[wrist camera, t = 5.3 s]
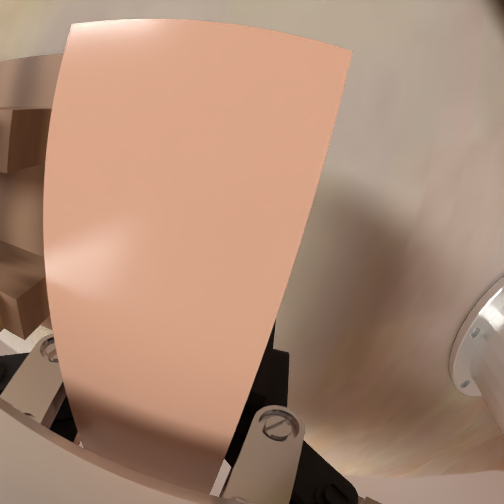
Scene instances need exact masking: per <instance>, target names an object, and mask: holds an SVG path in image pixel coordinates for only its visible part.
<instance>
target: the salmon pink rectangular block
mask: <svg viewBox="0 0 504 504" xmlns="http://www.w3.org/2000/svg"><path fill="white" fill-rule="evenodd" d="M352 52H353V51H350V50H347V49H344V48H340V47H337V46H334V45H330V44H327V43H323V42H320V41H316V40H312V39H308V38H304V37H300V36H296V35H291V34H287V33H282V32H277V31H272V30H267V29H261V28H255V27H249V26H243V25H235V24H228V23H219V22H209V21H196V20H179V19H126V20H109V21H97V22H87V23H79V24H72V27H71V30H70V33H69V37H68V40H67V44H66V47H65V51H64V55H63V59H62V63H61V67H60V71H59V75H58V80H57V85H56V89H55V95H54V100H53V106H52V112H51V118H50V125H49V132H48V141H47V150H46V161H45V175H44V196H43V238H44V259H45V273H46V284H47V294H48V302H49V310H50V317H51V323H52V330H53V335H54V341H55V346H56V351H57V356H58V361H59V366H60V370H61V374H62V378H63V382H64V386H65V390H66V394H67V398H68V401H69V405H70V408H71V411H72V415H73V418H74V421H75V424H76V427H77V430H78V433H79V436H80V439H81V442H82V444H83V447H84V449H86V450H88V451H90V452H92V453H94V454H97V455H99V456H101V457H103V458H105V459H107V460H110V461H112V462H114V463H117V464H119V465H121V466H124V467H126V468H129V469H131V470H134V471H136V472H139V473H141V474H144V475H147V476H150V477H152V478H155V479H158V480H161V481H164V482H167V483H170V484H173V485H176V486H180V487H183V488H186V489H190V490H193V491H197V492H201V493H204V494H208V495H209V494H210V492H211V489H212V487H213V484H214V482H215V480H216V477H217V475H218V472H219V470H220V467H221V465H222V462H223V460H224V457H225V455H226V452H227V450H228V447H229V445H230V442H231V440H232V437H233V435H234V432H235V430H236V427H237V424H238V422H239V419H240V417H241V414H242V411H243V409H244V406H245V403H246V401H247V398H248V395H249V393H250V390H251V387H252V384H253V382H254V379H255V376H256V373H257V371H258V368H259V365H260V362H261V360H262V357H263V354H264V351H265V348H266V345H267V343H268V340H269V337H270V334H271V331H272V328H273V325H274V322H275V319H276V316H277V313H278V310H279V307H280V304H281V301H282V298H283V295H284V292H285V289H286V286H287V283H288V280H289V277H290V274H291V271H292V268H293V265H294V262H295V258H296V255H297V252H298V249H299V246H300V242H301V239H302V236H303V233H304V229H305V226H306V223H307V220H308V216H309V213H310V210H311V206H312V203H313V199H314V196H315V193H316V189H317V186H318V182H319V179H320V175H321V172H322V168H323V165H324V161H325V158H326V154H327V150H328V147H329V143H330V139H331V136H332V132H333V128H334V124H335V121H336V117H337V113H338V109H339V105H340V101H341V97H342V93H343V89H344V85H345V81H346V77H347V73H348V69H349V65H350V61H351V56H352Z"/></svg>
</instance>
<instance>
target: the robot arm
mask: <svg viewBox="0 0 504 504" xmlns="http://www.w3.org/2000/svg"><path fill="white" fill-rule="evenodd" d="M275 322H276V319H275ZM275 322H274V325H273V328H272V331H271V334H270V337H269V340H268V343H267V345H266V348H265V351H264V354H263V357H262V360H261V362H260V365H259V368H258V371H257V373H256V376H255V379H254V382H253V384H252V387H251V390H250V393H249V395H248V398H247V401H246V403H245V406H244V409H243V411H242V414H241V417H240V419H239V422H238V424H237V427H236V430H235V432H234V435H233V437H232V440H231V442H230V445H229V447H228V450H227V452H226V455H225V457H224V459H225V460H226V461H227V462H228V463H229V465H230V466H231V469H230V471H229V474H228V476H227V479H226V481H225V483H224V486H223V488H222V491H221V493H220V495H219V497H217V496H212V495H208V494H204V493H201V492H197V491H193V490H190V489H186V488H183V487H180V486H176V485H173V484H170V483H167V482H164V481H161V480H158V479H155V478H152V477H150V476H147V475H144V474H141V473H139V472H136V471H134V470H131V469H129V468H126V467H124V466H121V465H119V464H117V463H114V462H112V461H110V460H107V459H105V458H103V457H101V456H99V455H97V454H94V453H92V452H90V451H88V450H86V449H84V448H82V447H80V446H79V444H80V441H81V439H80V436H79V433H78V430H77V427H76V424H75V421H74V418H73V415H72V411H71V408H70V405H69V401H68V398H67V394H66V390H65V386H64V382H63V378H62V374H61V370H60V366H59V361H58V356H57V351H56V346H55V341H54V335H53V334H50V335H47V336H45V337H43V338H42V339H41V340H40V341H39V342H38V343H37V344H36V345H35V347H34V348H33V349H32V351H31V352H30V353H22V354H14V355H5V356H0V504H381V503H379V502H377V501H375V500H373V499H370V498H369V497H366V498H364V499H363V498H361V497H359V496H358V494H357V492H356V489H355V488H354V487H353V485H352V484H351V483H350V482H349V481H348V480H346V479H345V478H344V477H343V476H342V475H341V474H340V473H339V472H337V471H336V470H335V469H334V468H333V467H332V466H331V465H330V464H329V463H327V462H326V461H325V460H324V459H323V458H322V457H321V456H320V455H319V454H318V453H317V452H316V451H315V450H313V449H312V448H311V447H310V446H309V445H308V444H307V443H306V442H305V441H304V440H303V439H304V433H305V426H304V423H303V421H302V419H301V418H300V417H299V415H298V414H296V413H295V412H294V411H292V410H291V409H288V408H287V396H288V375H289V353H288V352H284V351H279V350H275V349H273V342H274V332H275ZM449 372H450V376H451V379H452V381H453V383H454V385H455V387H456V388H457V390H458V391H459V392H461V393H462V394H464V395H467V396H471V397H480V396H483V398H484V399H485V401H486V403H487V405H488V407H489V409H490V410H491V412H492V414H493V416H494V418H495V420H496V422H497V424H498V426H499V428H500V430H501V432H502V434H503V436H504V276H503V277H502V278H501V279H500V280H498V281H497V282H496V283H495V284H494V285H493V286H492V287H491V288H490V289H489V290H488V291H487V292H486V293H485V294H484V295H483V296H482V298H481V299H480V300H479V301H478V302H477V304H476V305H475V306H474V308H473V309H472V310H471V312H470V313H469V315H468V316H467V318H466V320H465V321H464V323H463V325H462V326H461V328H460V330H459V332H458V335H457V337H456V339H455V341H454V344H453V347H452V350H451V354H450V360H449Z"/></svg>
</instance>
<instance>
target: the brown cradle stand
mask: <svg viewBox="0 0 504 504" xmlns="http://www.w3.org/2000/svg"><path fill="white" fill-rule="evenodd" d="M63 55H64V53H63V54H52V55H42V56H34V57H27V58H20V59H13V60H8V61H2V62H0V332H1V331H2V330H3V329H4V328H5V329H6V330H8V331H10V332H11V333H13V334H15V335H17V336H18V337H20V338H22V339H24V340H25V339H26V338H27V337H28V336H29V335H30V334H31V333H32V332H33V331H34V330H35V329H36V328H37V327H38V326H39V325H43V326H45V327H47V328H49V329H51V330H52V323H51V317H50V310H49V302H48V294H47V284H46V273H45V259H44V238H43V196H44V175H45V161H46V150H47V141H48V132H49V125H50V118H51V112H52V106H53V100H54V95H55V89H56V85H57V80H58V75H59V71H60V67H61V63H62V59H63Z"/></svg>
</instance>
